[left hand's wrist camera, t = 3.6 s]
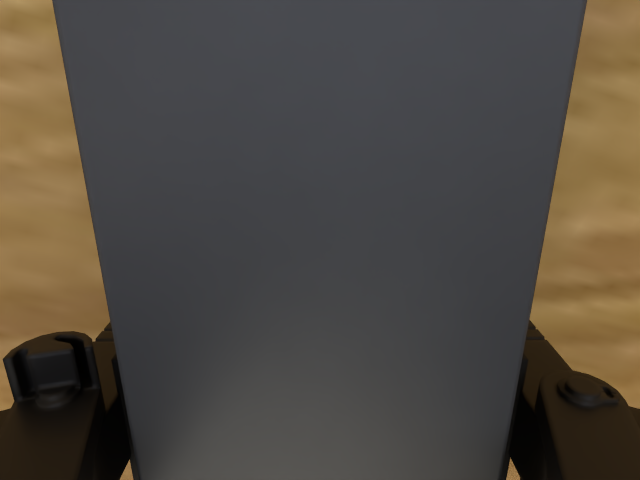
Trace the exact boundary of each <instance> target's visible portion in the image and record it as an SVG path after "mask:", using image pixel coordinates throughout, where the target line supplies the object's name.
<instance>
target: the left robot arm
mask: <svg viewBox="0 0 640 480" xmlns="http://www.w3.org/2000/svg"><path fill="white" fill-rule="evenodd" d="M3 362H4V366H5V369H6V373H7V376H8V380H9V383H10V387H11V390H12V394H13V397H14V403H13V405H12V407H11V409H7V410H3V411H0V480H120V477H121V475H122V473H123V471H124V469H125V467H126V465H127V463H128V461H129V459H130V463H131V468H132V474H133V479H134V480H139V476H138V470H137V465H136V459H135V454H134V448H133V443H132V437H131V432H130V426H129V421H128V415H127V410H126V404H125V399H124V393H123V388H122V382H121V377H120V371H119V365H118V360H117V354H116V349H115V343H114V338H113V332H112V327H111V321H110V323H109V324H108V325H107V326H106V327H105V329H104V331H102V332H101V333H100V334H99V336H98V337H97V338H96V341H95V342H93V343H92V339H91V338H90V337H89V336H87V335H86V334H84V333H79V332H74V331H70V332H56V333H51V334H47V335H42V336H39V337H37V338H34V339H31V340H29V341H26V342H24V343H23V344H21V345H19V346H18V347H16V348H14V349H12V350H11V351H10V352H9V353H8V354H7V355H6V356H5V357H4V358H3ZM510 457H511V459H512V461H513V463H514V465H515V467H516V470H517V472H518V474H519V476H520V480H640V409H637V408H633V407H630V406H628V404H627V402H626V401H625V399H624V398H623V397H622V396H621V394H620V393H619V392H618V391H617V390H616V389H615V388H613V387H612V386H610V385H609V384H607V383H606V382H605V381H602V380H600V379H598V378H596V377H593V376H591V375H589V374H585V373H581V372H577V371H573V370H572V369H571V368H570V367H569V366H568V365H567V363H566V362H565V361H564V360H563V359H562V358H561V356H560V355H559V354H558V353H557V352H556V350H555V349H554V348H553V347H552V346H551V345H550V343H549V342H548V341H547V340H544V336H543V335H542V334H541V333H540V332H539V330H538V329H536V327H535V326H534V325H533V323H532V322H531V321H530V320H529V324H528V329H527V335H526V340H525V346H524V351H523V357H522V362H521V368H520V373H519V379H518V384H517V390H516V395H515V401H514V407H513V412H512V418H511V423H510V429H509V434H508V440H507V445H506V451H505V456H504V462H503V467H502V473H501V478H500V480H506V477H507V472H508V467H509V461H510Z"/></svg>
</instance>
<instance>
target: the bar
mask: <svg viewBox="0 0 640 480" xmlns="http://www.w3.org/2000/svg"><path fill="white" fill-rule="evenodd" d="M52 1H53V7H54V12H55V18H56V23H57V29H58V34H59V40H60V45H61V51H62V56H63V62H64V67H65V73H66V79H67V84H68V90H69V95H70V101H71V106H72V112H73V117H74V123H75V128H76V134H77V139H78V145H79V150H80V156H81V161H82V167H83V172H84V178H85V183H86V189H87V194H88V200H89V205H90V211H91V216H92V222H93V228H94V233H95V239H96V244H97V250H98V255H99V261H100V266H101V272H102V277H103V283H104V288H105V294H106V299H107V305H108V310H109V316H110V321H111V327H112V332H113V338H114V343H115V349H116V354H117V360H118V365H119V371H120V377H121V382H122V388H123V393H124V399H125V404H126V410H127V415H128V421H129V426H130V432H131V437H132V443H133V448H134V454H135V459H136V465H137V470H138V476H139V480H500V478H501V473H502V467H503V462H504V456H505V451H506V445H507V440H508V434H509V429H510V423H511V418H512V412H513V407H514V401H515V395H516V390H517V384H518V379H519V373H520V368H521V362H522V357H523V351H524V346H525V340H526V335H527V329H528V324H529V318H530V313H531V307H532V302H533V296H534V290H535V285H536V279H537V274H538V268H539V263H540V257H541V252H542V246H543V241H544V235H545V230H546V224H547V219H548V213H549V208H550V202H551V196H552V191H553V185H554V180H555V174H556V169H557V163H558V158H559V152H560V147H561V141H562V136H563V130H564V125H565V119H566V114H567V108H568V102H569V97H570V91H571V86H572V80H573V75H574V69H575V64H576V58H577V53H578V47H579V42H580V36H581V31H582V25H583V20H584V14H585V8H586V3H587V0H52Z"/></svg>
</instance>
